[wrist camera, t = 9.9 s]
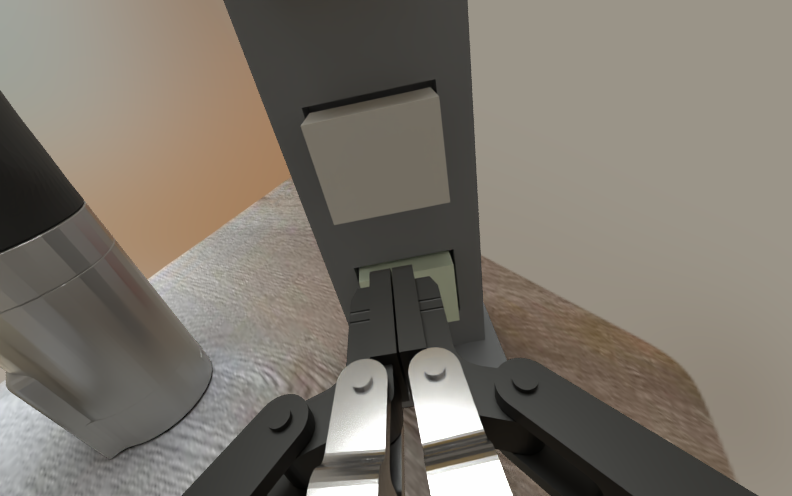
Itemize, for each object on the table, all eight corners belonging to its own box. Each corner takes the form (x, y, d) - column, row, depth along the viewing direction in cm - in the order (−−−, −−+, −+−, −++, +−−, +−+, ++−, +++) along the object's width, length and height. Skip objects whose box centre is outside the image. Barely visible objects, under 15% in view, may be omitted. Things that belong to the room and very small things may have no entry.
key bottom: (459, 320, 23) (453, 264, 21) (376, 335, 24) (358, 282, 21) (452, 296, 25) (445, 242, 23) (375, 310, 26) (360, 259, 23)
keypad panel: (513, 389, 24) (542, -830, 5) (353, 416, 25) (-133, -592, 6) (481, 307, 31) (444, -342, 12) (357, 329, 32) (140, -257, 13)
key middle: (450, 202, 17) (439, 96, 14) (334, 225, 17) (300, 125, 14) (441, 182, 19) (430, 87, 16) (338, 203, 19) (309, 113, 16)
